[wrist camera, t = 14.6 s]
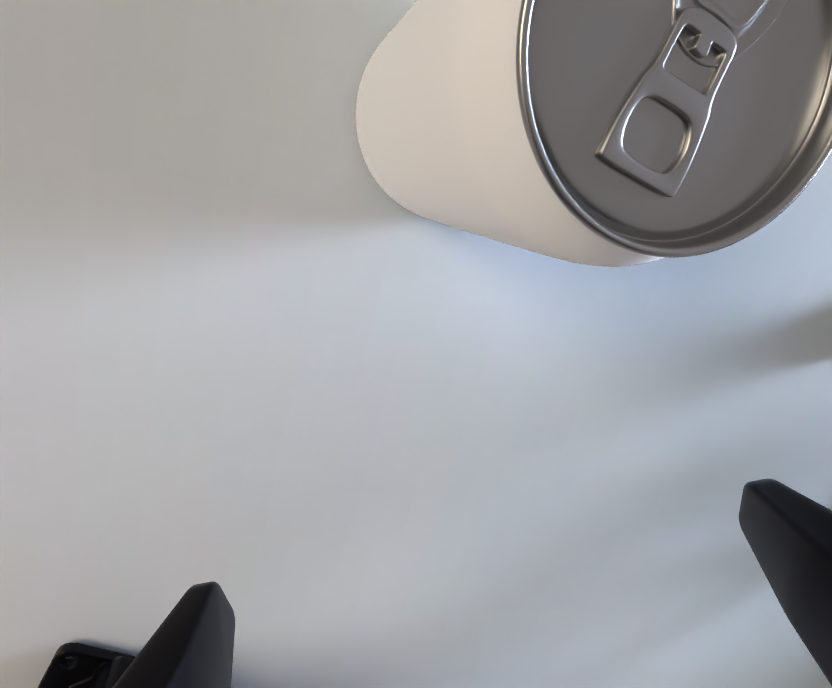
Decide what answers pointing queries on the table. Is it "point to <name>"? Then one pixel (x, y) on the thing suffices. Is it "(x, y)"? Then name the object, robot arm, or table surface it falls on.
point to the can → (601, 120)
